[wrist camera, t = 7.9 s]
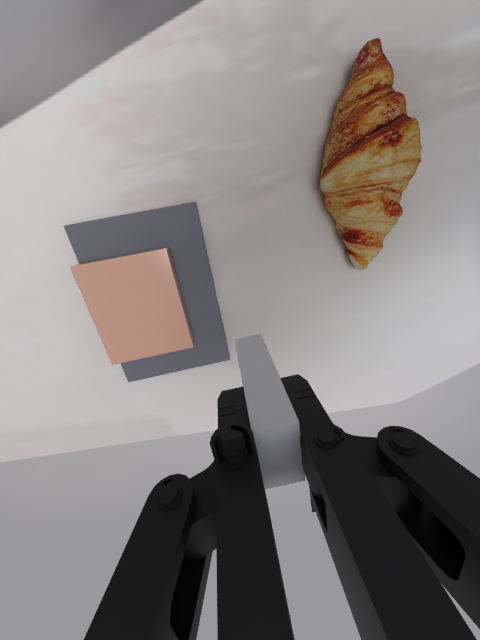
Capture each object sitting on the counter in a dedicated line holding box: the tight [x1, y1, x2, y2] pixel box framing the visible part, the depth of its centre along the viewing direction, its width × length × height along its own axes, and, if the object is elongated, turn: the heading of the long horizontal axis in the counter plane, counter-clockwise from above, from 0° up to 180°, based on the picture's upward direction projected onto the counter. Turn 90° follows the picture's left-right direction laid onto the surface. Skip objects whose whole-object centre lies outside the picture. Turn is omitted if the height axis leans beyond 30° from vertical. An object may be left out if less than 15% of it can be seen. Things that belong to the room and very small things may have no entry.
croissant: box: [319, 38, 421, 270], centre depth 26 cm, size 21×10×8 cm, turn 11°
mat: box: [64, 202, 230, 382], centre depth 30 cm, size 14×20×1 cm
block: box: [70, 247, 194, 365], centre depth 29 cm, size 2×12×10 cm
